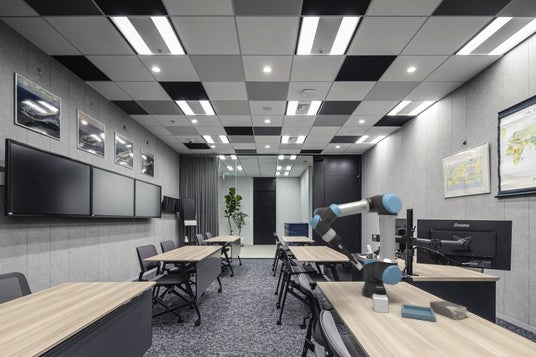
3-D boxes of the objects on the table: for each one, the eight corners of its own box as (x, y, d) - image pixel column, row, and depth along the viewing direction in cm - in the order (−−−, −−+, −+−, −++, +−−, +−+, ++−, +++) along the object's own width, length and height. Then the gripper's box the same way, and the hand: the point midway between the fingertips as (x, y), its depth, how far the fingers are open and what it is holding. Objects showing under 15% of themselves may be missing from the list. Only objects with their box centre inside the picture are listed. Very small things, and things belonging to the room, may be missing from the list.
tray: (401, 308, 159) (401, 303, 159) (432, 312, 153) (432, 307, 153) (402, 317, 145) (401, 312, 146) (435, 322, 139) (435, 316, 140)
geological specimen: (443, 300, 160) (469, 306, 146) (444, 311, 159) (470, 319, 145) (428, 300, 157) (454, 308, 143) (429, 312, 156) (455, 321, 142)
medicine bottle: (389, 313, 151) (388, 289, 153) (374, 312, 153) (374, 288, 154) (386, 308, 158) (385, 286, 160) (372, 307, 160) (372, 285, 161)
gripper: (326, 240, 176) (351, 266, 172) (328, 244, 152) (358, 275, 148) (334, 232, 176) (360, 258, 172) (338, 234, 152) (368, 265, 148)
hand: (359, 266), depth 160 cm, fingers open, 13 cm apart
